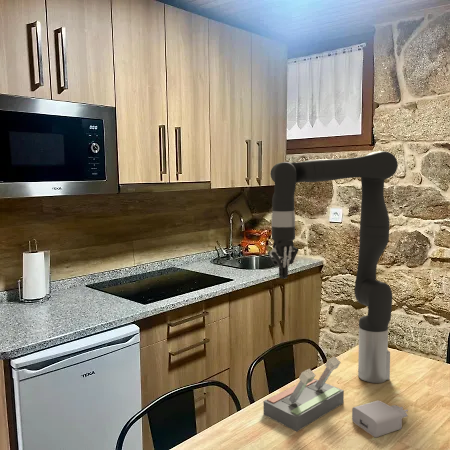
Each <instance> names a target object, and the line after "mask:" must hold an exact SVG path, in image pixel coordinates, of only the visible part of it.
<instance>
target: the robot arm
mask: <svg viewBox="0 0 450 450" xmlns="http://www.w3.org/2000/svg"><path fill="white" fill-rule="evenodd" d="M398 165H399V163H398V160H397V158H396V156H395V155H394V154H393V153H391V152H389V151H386V150H385V151H384V150H379V151H373V152H370V153H368V154H366V155H363V156H357V157H356V156H355V157H350V158H349V157H348V158H323V159H322V158H321V159H310V160H305V161H295V162H292V161H291V162H290V161H289V162H288V161H282V162H278V163H276V164H275V165H273V166H272V167H271V169H270V177H271V180H272V181H273V182H274V193H273V195H272V199H271V200H272V203H271V205H272V206H271V207H272V208H271V210H272V211H271V239H272V241H273V244H272V249H271V250H268V251H267V255H268V257H269V258H270V260H271V262H272V264H273V266H277V267H278V276H279V279H282V280H285V279H288V276H289V266H290V265H293V264H294V261H295V259H296V257H297V254H298V252H299V248H298V247H296V246H295V243H294V240H296V214H295V213H296V212H295V193H296V185H297V183H319V182H329V181H335V180H343V179H344V180H345V179H352V178H353V179H355V178H360V181H361V203H360V205H361V206H360V220H359V246H358V247H359V248H358V261H357V269H356V275H355V284H354V297H355V299H356V301H357V302H358V303H359V304H360V305H363V306H366V307H368V308H367V315H363V316H361V317H360V318H359V320H358V359H357V360H358V365H357V366H358V368H357V369H358V370H357V375H358V378H360V380H362V381H364V382H367V383H371V384H382V383H385V382H386V381H387V380H390V379H391V376H390V375H391V351H390V350H388V349H389V347H388V345H389V325H390V322H391V319H392V308H393V292H392V288H391V287H390V285H389V284H388V283H386V282H383V281H380V280H377V267H378V263H379V260H380V258H381V257H382V255H383V253H384V252H385V250H386V248H387V246H388V244H389V240H390V216H389V213H388V209H387V205H386V201H385V195H384V192H385V191H384V190H385V189H384V188H385V180H387V179H390V178H391V177H393V176H394V175H395V174H396V172H397V169H398Z"/></svg>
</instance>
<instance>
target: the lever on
mask: <svg viewBox="0 0 450 450" xmlns="http://www.w3.org/2000/svg"><path fill="white" fill-rule="evenodd" d="M340 364H341V360H339V359H338V358H337V357H336V356H332V357H330V358H328V359H327V361H326V363H325V364H324V366H325V369H324V370H323V372H322V374H321V375H320V376H319V379H317V380H318V381H317V383H316V385H315V387H316V388H317V389H320V388H322V387H323V385H324V384H325V383H326V382H327V381H328V380H329V377H330V376H331V374H332V372H333V371H334V370H336V369H338V368H339V366H340Z"/></svg>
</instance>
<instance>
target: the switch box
mask: <svg viewBox="0 0 450 450" xmlns="http://www.w3.org/2000/svg"><path fill="white" fill-rule="evenodd" d="M318 380H319V379H316V378H314V379H313V380H312V381H311V382H309V383H307V385H306V387H305V388H304V390H303V392H302V393H301V395H300V396H299V398H298V400H297V401H296V402H294V403H291V402H290V401H289V398H290V397H291V395H292V393H293V392H294V390H295V388H296V387H297V385H298V383H296V385H293V386H292V387H289V388H286V390H283V391H281V392H279V393H277V394H275V395H273V396H271V397H269V398H267V399H265V400H263V415H264V416H265V417H268V418H269V419H271V420H273V421H276V422H278V423H279V424H281V425H283V426H285V427H287V428H289V429H291V431H295V432H299V431H301V430H302V429H304V428H305V427H307V426H309V425H311V424H312V423H313V422H315V421H316V420H318V419H320V418H322V417H323V416H325V415H327V414H329V413H330V412H331V411H333V410H335V409H336V408H338V407H339V406H342V405H343V404H344V402H345V401H344V398H345V397H344V396H345V395H344V394H345V393H344V391H345V390H344V389H341V388H339V387H336V386H334V385H331V384H328V383H326V382H325V384H324V385H323V387H322V388H320V389H317V388H316V387H315V385H316V383H317V381H318Z"/></svg>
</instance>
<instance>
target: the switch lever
mask: <svg viewBox="0 0 450 450" xmlns="http://www.w3.org/2000/svg"><path fill="white" fill-rule="evenodd" d="M315 377H316V374H315V372H313V371H312V369H310V368H308V369H306V370H303V371H302V372H301V373H300V375H299V377H298V379H299V382H298V383H297V384H298V385H297V384H296V385H297V387H296V388H295V390H294V392H293V393H292V395H291V397H290V398H289V401H290V402H291V403H294V402H296V401H297V400H298V398H299V396H300V395H301V393H302V392H303V390H304V388H305V387H306V385H307V383H309V382H311V381H312V380H313V379H315Z"/></svg>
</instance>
